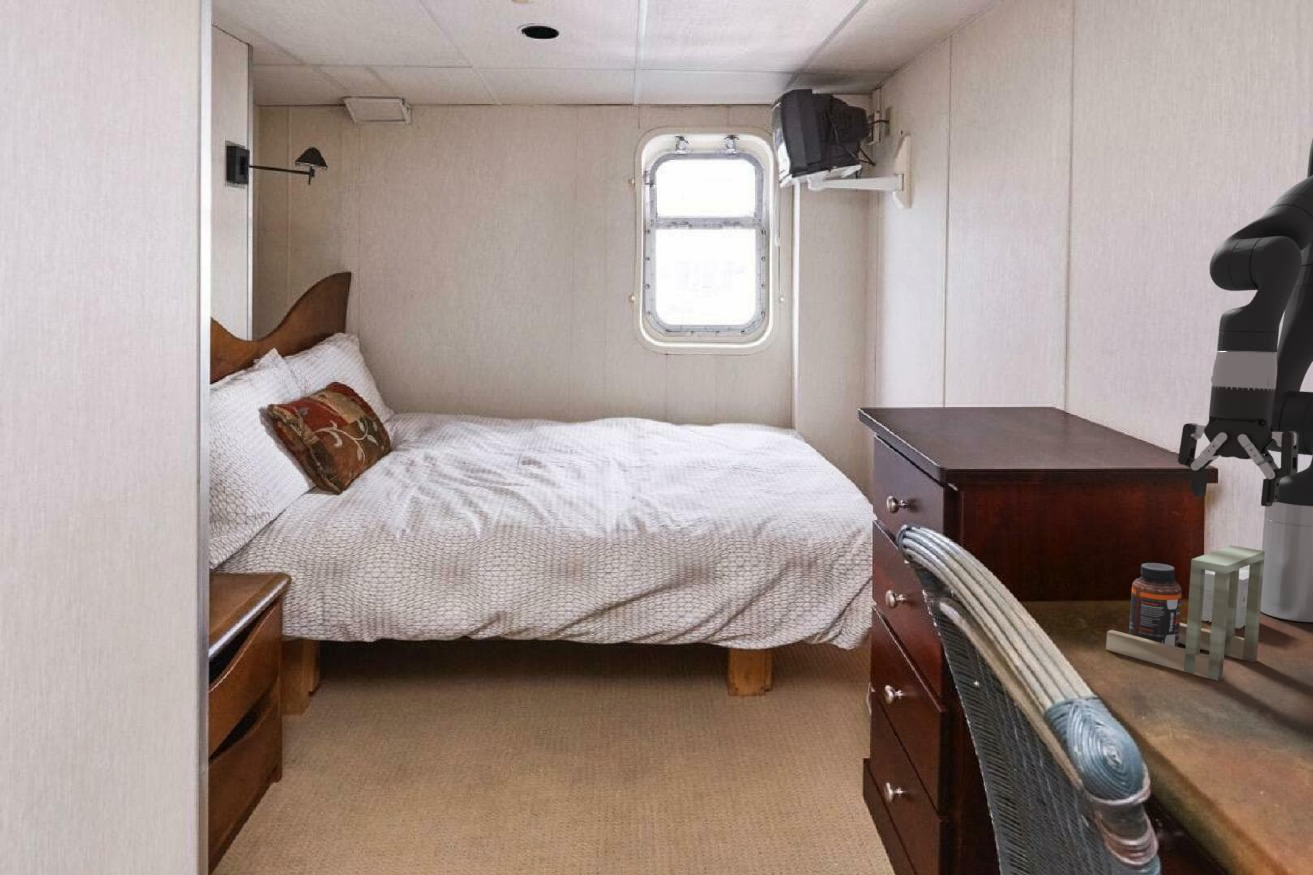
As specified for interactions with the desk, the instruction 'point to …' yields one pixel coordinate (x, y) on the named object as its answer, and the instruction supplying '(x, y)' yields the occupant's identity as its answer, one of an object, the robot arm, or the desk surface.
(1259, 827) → the desk surface
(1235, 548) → the channel
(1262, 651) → the desk surface
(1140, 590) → the supplement bottle
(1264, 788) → the desk surface
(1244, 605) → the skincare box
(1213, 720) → the desk surface
